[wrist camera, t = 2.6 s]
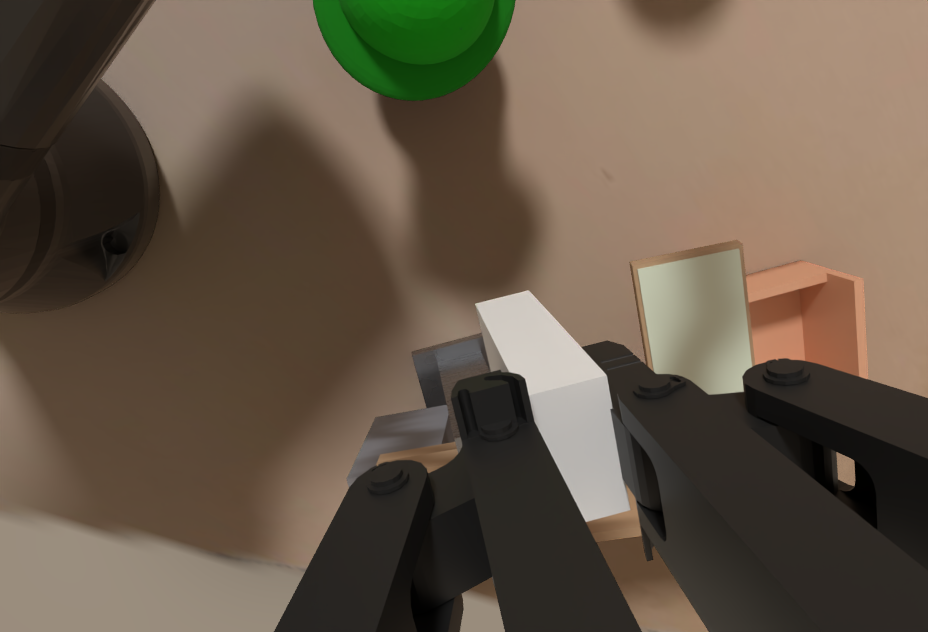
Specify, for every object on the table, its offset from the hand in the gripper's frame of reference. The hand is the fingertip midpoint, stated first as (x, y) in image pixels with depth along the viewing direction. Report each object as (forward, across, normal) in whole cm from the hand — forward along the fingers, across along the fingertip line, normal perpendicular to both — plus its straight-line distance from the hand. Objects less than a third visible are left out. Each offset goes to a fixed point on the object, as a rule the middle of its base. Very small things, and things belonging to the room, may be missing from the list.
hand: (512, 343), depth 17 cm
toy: (+24, +1, +12) cm, 27 cm away
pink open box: (+24, +19, -13) cm, 33 cm away
